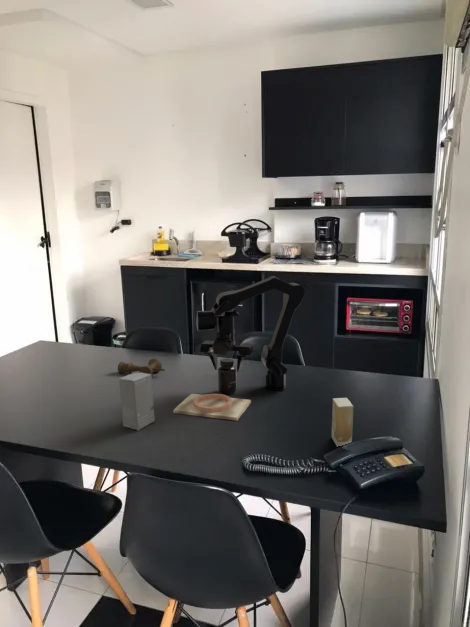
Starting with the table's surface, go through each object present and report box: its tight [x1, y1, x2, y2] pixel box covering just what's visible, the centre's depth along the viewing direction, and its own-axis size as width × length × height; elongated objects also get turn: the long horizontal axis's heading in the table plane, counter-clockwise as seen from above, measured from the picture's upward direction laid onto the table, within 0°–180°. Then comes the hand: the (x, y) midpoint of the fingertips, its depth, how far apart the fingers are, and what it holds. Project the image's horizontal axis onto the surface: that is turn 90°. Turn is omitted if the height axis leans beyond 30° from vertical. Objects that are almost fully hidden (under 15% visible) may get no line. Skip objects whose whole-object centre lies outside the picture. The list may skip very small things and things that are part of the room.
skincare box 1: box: [118, 371, 156, 431], centre depth 156 cm, size 8×7×16 cm
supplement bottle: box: [217, 357, 238, 396], centre depth 182 cm, size 7×7×12 cm
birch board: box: [172, 393, 252, 421], centre depth 169 cm, size 22×15×1 cm
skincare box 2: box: [331, 397, 354, 448], centre depth 142 cm, size 6×4×12 cm
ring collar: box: [194, 393, 232, 413], centre depth 169 cm, size 12×12×2 cm
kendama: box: [117, 358, 166, 378], centre depth 203 cm, size 6×10×20 cm
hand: (227, 370), depth 181 cm, fingers open, 8 cm apart
